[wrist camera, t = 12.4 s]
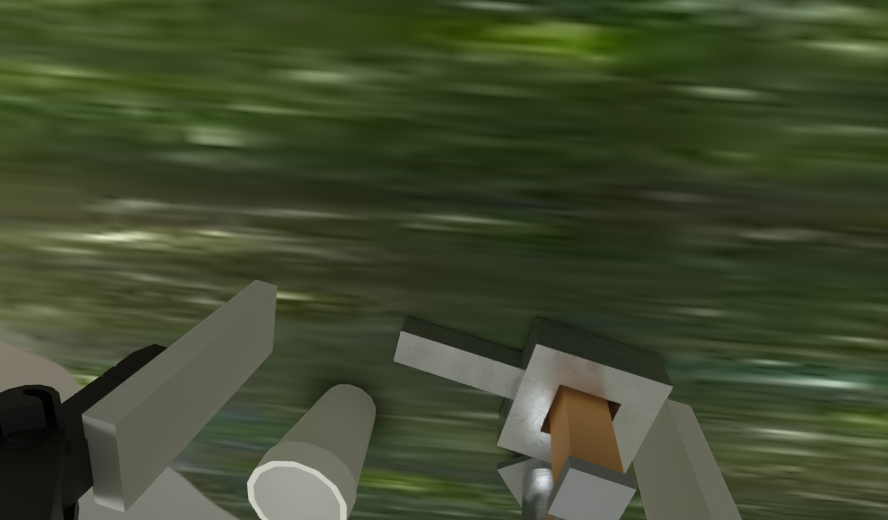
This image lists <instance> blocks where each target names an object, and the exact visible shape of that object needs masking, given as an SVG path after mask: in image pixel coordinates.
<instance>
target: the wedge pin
mask: <svg viewBox="0 0 888 520" xmlns="http://www.w3.org/2000/svg"><path fill="white" fill-rule="evenodd" d="M549 416H550V435H551V454H552V473H553V489H552V491H551V493H550V495H549V497H548V499H547V511H548V514H551V515H554V516H557V517H560V518H563V519H566V520H619V519H620V517H621V515H622V514H623V512H624V510H625V508H626V507H627V505H628V503H629V502H630V500H631V498H632V496H633V495H634V493H635V491H636V486H635V482H634V478H633V476H630V475H627V474H624V470H623V466H622V462H621V458H620V453H619V449H618V445H617V441H616V436H615V432H614V428H613V424H612V419H611V415H610V411H609V407H608V402H607V399H604V398H601V397H598V396H595V395H592V394H589V393H586V392H582V391H579V390H576V389H573V388H570V387H567V386H564V385H561V384H560V385H559V387H558V389H557V392H556V394H555V396H554V399H553V401H552V403H551V406H550V408H549Z"/></svg>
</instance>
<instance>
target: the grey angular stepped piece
mask: <svg viewBox="0 0 888 520" xmlns="http://www.w3.org/2000/svg"><path fill="white" fill-rule="evenodd" d="M394 361H395V362H398V363H401V364H405V365H408V366H411V367H414V368H417V369H420V370H423V371H426V372H429V373H432V374H435V375H439V376H442V377H445V378H448V379H451V380H454V381H457V382H460V383H463V384H466V385H470V386H473V387H476V388H479V389H482V390H485V391H488V392H491V393H494V394H497V395H500V396H504V397H505V399H504V402H503V405H502V407H501V410H500V415H499V426H498V436H497V446H500V447H503V448H506V449H509V450H512V451H515V452H518V453H521V454H523V456H520V457H517V458H514V459H511V460H508V461H505V462H501V463H498V465H497V470H498V472H499V473H500V475H501V477H502V478H503V480H504V481H505V483H506V484H507V486H508V487H509V489H510V490H511V492H512V493H513V495H514V496H515V498H516V500H517V501H518V503H519V504H520V506H521V507H522V520H566V519H563V518H560V517H557V516H554V515H551V514H548V511H547V499H548V497H549V495H550V493H551V491H552V489H553V473H552V454H551V435H550V416H549V408H550V406H551V403H552V401H553V399H554V396H555V394H556V392H557V389H558V387H559V385H560V384H561V385H564V386H567V387H570V388H573V389H576V390H579V391H582V392H586V393H589V394H592V395H595V396H598V397H601V398H604V399H607V402H608V407H609V411H610V415H611V419H612V424H613V428H614V432H615V436H616V441H617V445H618V449H619V453H620V458H621V462H622V466H623V470H624V474H625V472H626V470H627V469H628V467H629V465H630V463H631V462H632V460H633V458H634V456H635V454H636V453H637V451H638V449H639V447H640V445H641V444H642V442H643V440H644V438H645V436H646V435H647V433H648V431H649V429H650V427H651V426H652V424H653V422H654V420H655V418H656V416H657V415H658V413H659V411H660V409H661V407H662V405H663V403H664V402H665V400H666V399H667V397H668V395H669V394H670V392H671V390H672V388H673V385H672V383H671V381H670V379H669V377H668V374H667V372H666V370H665V368H664V366H663V364H662V361H661V359H660V357H659V355H657V354H654V353H651V352H648V351H645V350H641V349H638V348H635V347H632V346H628V345H625V344H622V343H619V342H615V341H612V340H609V339H606V338H603V337H599V336H596V335H593V334H590V333H586V332H583V331H580V330H577V329H574V328H570V327H567V326H564V325H561V324H557V323H554V322H551V321H548V320H544V319H541V318H538V317H536V318H535V321H534V323H533V326H532V329H531V331H530V334H529V337H528V339H527V342H526V344H525V347H524V350H523V352H521V351H517V350H514V349H511V348H508V347H505V346H502V345H498V344H495V343H492V342H489V341H486V340H483V339H479V338H476V337H473V336H470V335H467V334H464V333H460V332H457V331H454V330H451V329H448V328H445V327H441V326H438V325H435V324H432V323H429V322H426V321H422V320H419V319H416V318H413V317H410V316H409V317H408V319H407V321H406V322H405V324H404V326H403V328H402V330H401V333H400V337H399V341H398V345H397V349H396V353H395V357H394Z"/></svg>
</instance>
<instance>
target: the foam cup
mask: <svg viewBox="0 0 888 520" xmlns="http://www.w3.org/2000/svg"><path fill="white" fill-rule="evenodd" d="M375 417H376V406H375V404H374V402H373V400H372V398H371V397H370V396H369V395H368V394H367V393H366V392H365V391H364V390H362V389H361V388H358V387H355V386H353V385H350V384H339V385H336V386H334V387H332V388H330V389H329V390H328V391H327V392H326V393H325V394H324V395H323V396H322V397H321V398H320V399H319V400H318V401H317V402H316V403H315V404H314V405H313V406H312V407H311V408H310V410H309V411H308V412H307V413H306V414H305V415H304V416H303V417H302V418H301V419H300V420H299V421H298V422H297V423H296V424H295V425H294V427H293V428H292V429H291V430H290V431H289V432H288V433H287V434H286V435H285V436H284V437H283V438H282V439H281V440H280V441H279V442H278V444H277V445H276V446H275V447H273V448H271V449H269V450H268V452H267V453H266V454H265V456H264V457H263V459H262V460H261V461H260V463H259V464H258V466H257V467H256V468H255V470H254V472H253V474H252V475H251V477H250V479H249V481H248V482H247V486H248V496H249V501H250V503H251V504H252V506H253V508H254V509H255V511H256V512H257V514H258V516H259V517H260V518H261V519H262V520H348V518H349V515H350V513H351V510H352V508H353V506H354V503H355V501H356V489H357V486H358V482H359V478H360V474H361V471H362V467H363V463H364V459H365V456H366V452H367V448H368V444H369V441H370V437H371V433H372V429H373V426H374V422H375Z"/></svg>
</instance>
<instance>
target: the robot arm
mask: <svg viewBox="0 0 888 520" xmlns="http://www.w3.org/2000/svg"><path fill="white" fill-rule="evenodd" d="M276 294H277V286H276V285H272V284H269V283H265V282H262V281H258V280H255V281H254V282H252V283H251V284H250V285H249V286H247V287H246V288H245V289H243V290H242V291H241V292H239V293H238V294H237V295H236V296H234V297H233V298H232V299H230V300H229V301H228V302H227V303H225V304H224V305H223V306H221V307H220V308H219V309H217V310H216V311H215V312H214V313H212V314H211V315H210V316H208V317H207V318H206V319H205V320H203V321H202V322H201V323H199V324H198V325H197V326H195V327H194V328H193V329H192V330H190V331H189V332H188V333H186V334H185V335H184V336H183V337H181V338H180V339H179V340H177V341H176V342H175V343H173V344H172V345H171V346H170V347H168V348H166V347H163V346H160V345H157V344H153V345H150V346H148V347H145V348H143V349H140V350H138V351H135V352H133V353H132V354H130V355H129V356H127V357H126V358H125V359H123V360H122V361H120V362H119V363H118V364H117V366H116V367H112V368H111V369H109V370H108V371H107V372H105V373H104V374H103V376H102V377H101V376H100V377H98V378H97V379H95V380H94V381H93V382H91V383H90V384H88V385H87V386H86V387H84V388H83V389H81V390H80V391H79V392H77V393H76V394H74V395H73V396H72V397H70V398H69V399H68V400H66V401H65V402H63V403H62V404H61V401H60V395H59V392H57V391H56V390H55V389H54V388H52V387H49V386H44V385H24V386H20V387H16V388H11V389H8V390H5V391H3V392H1V393H0V520H78V514H79V504H78V499H79V498H80V497H81V496H82V495H83V494H84V493H85V492H86V491H88V489H90V488H91V487H92V486H93V492H94V499H95V503H97V504H100V505H103V506H106V507H109V508H112V509H115V510H118V511H121V512H124V513H125V512H126V511H127V510H128V509H129V508H130V507H131V506H132V505H133V503H134V502H135V501H136V500H137V499H138V498H139V497H140V496H141V495H142V493H144V491H145V490H146V489H147V488H148V487H149V486H150V485H151V484H152V483H153V481H154V480H155V479H156V478H157V477H158V476H159V475H160V474H161V473H162V472H163V471H164V470H165V468H166V467H167V466H168V465H169V464H170V463H171V462H172V461H173V460H174V459H175V458H176V456H177V455H178V454H179V453H180V452H181V451H182V450H183V449H184V448H185V447H186V446H187V444H188V443H189V442H190V441H191V440H192V439H193V438H194V437H195V436H196V435H197V433H198V432H199V431H200V430H201V429H202V428H203V427H204V426H205V425H206V424H207V423H208V421H209V420H210V419H211V418H212V417H213V416H214V415H215V414H216V413H217V412H218V411H219V409H220V408H221V407H222V406H223V405H224V404H225V403H226V402H227V401H228V400H229V398H230V397H231V396H232V395H233V394H234V393H235V392H236V391H237V390H238V389H239V388H240V386H241V385H242V384H243V383H244V382H245V381H246V380H247V379H248V378H249V377H250V375H251V374H252V373H253V372H254V371H255V370H256V369H257V368H258V367H259V366H260V365H261V363H262V362H263V361H264V360H265V359H266V358H267V357H268V356H269V355H270V354H271V353H272V349H273V335H274V321H275V308H276ZM633 464H634V468H635V472H636V476H637V481H638V485H639V489H640V493H641V497H642V501H643V505H644V509H645V513H646V517H647V520H742V519H741V517H740V514H739V512H738V510H737V508H736V506H735V503H734V501H733V499H732V497H731V495H730V492H729V490H728V488H727V486H726V483H725V481H724V479H723V477H722V475H721V472H720V470H719V468H718V466H717V464H716V461H715V459H714V457H713V455H712V453H711V450H710V448H709V446H708V444H707V442H706V439H705V437H704V435H703V433H702V431H701V428H700V426H699V424H698V422H697V420H696V417H695V415H694V413H693V411H692V408H691V406H689V405H685V404H682V403H679V402H675V401H672V400H668V399H666V400H665V402H664V403H663V405H662V407H661V409H660V411H659V413H658V415H657V416H656V418H655V420H654V422H653V424H652V426H651V427H650V429H649V431H648V433H647V435H646V437H645V439H644V440H643V442H642V444H641V446H640V448H639V450H638V451H637V453H636V455H635V457H634V459H633Z"/></svg>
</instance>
